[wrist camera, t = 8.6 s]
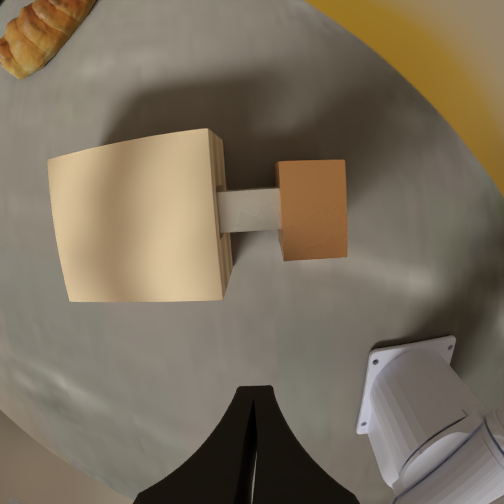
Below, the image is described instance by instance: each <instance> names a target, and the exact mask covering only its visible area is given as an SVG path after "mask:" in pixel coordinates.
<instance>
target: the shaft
mask: <svg viewBox="0 0 504 504" xmlns="http://www.w3.org/2000/svg"><path fill="white" fill-rule="evenodd" d="M274 166H275V181H276V187H261V188H246V189H233V190H220V191H216V199H217V211H218V222H219V233H228V232H244V231H260V230H277V229H278V233H279V243H280V247H281V251H282V255H283V259H284V261H292V260H308V259H324V258H340V257H347V193H346V170H345V160H302V161H278V162H277V163H276V164H274Z"/></svg>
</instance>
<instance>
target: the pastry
mask: <svg viewBox="0 0 504 504" xmlns="http://www.w3.org/2000/svg"><path fill="white" fill-rule="evenodd" d="M95 2H96V0H35V2H33V3H31V4H30V5H28V6H26V7H24V8H22V9H21V11H20V14H19V17H17V18H15V19H13V20H11V21H10V22H9V23H8V24H7V26H6V33H5V35H4V36H3V37H2V38H1V39H0V62H1V63H2V66H3V67H4V68H5V69H6V70H7V71H8V72H10V73H11V74H12V75H14V76H15V77H17V78H18V79H24V78H26V77H28V76H30V75H31V74H33V73H35V72H37V71H39V70H40V69H42V68H43V67H44V65H45V64H46V63H47V62H48V61H49V60H50V59H51V58H53V57H54V56H55V55H56V54H57V53H58V51H59V50H60V49H61V48H62V47H63V45H64V44H65V42H66V41H67V40H68V39H69V38H70V37H71V35H72V34H73V33H74V31H75V30H76V29H77V28H78V26H79V25H80V24H81V23H82V22H83V20H84V19H85V18H86V17H87V15H88V14H89V12H90V10H91V8H92V6H93V5H94V3H95Z"/></svg>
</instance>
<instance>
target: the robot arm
mask: <svg viewBox="0 0 504 504" xmlns="http://www.w3.org/2000/svg"><path fill="white" fill-rule="evenodd" d="M455 343H456V338H455V337H454V336H453V335H450V336H446V337H441V338H436V339H431V340H426V341H421V342H415V343H410V344H404V345H398V346H392V347H385V348H378V349H374V350H372V351H371V352H370V354H369V360H368V367H367V374H366V380H365V386H364V392H363V397H362V403H361V408H360V413H359V418H358V423H357V428H356V431H357V433H358V434H365V433H368V436H369V439H370V442H371V445H372V448H373V451H374V454H375V457H376V460H377V463H378V466H379V469H380V472H381V475H382V477H383V479H384V481H385V482H386V483H387V484H388V485H389V486H390V487H391V488H393V491H394V494H395V497H394V498H393V499H392V500H391V501H390V502H389V503H388V504H504V408H502V409H493V410H491V411H490V413H489V414H488V413H487V411H486V410H485V409H484V408H483V406H482V405H481V404H480V402H479V401H478V400H477V399H476V397H475V396H474V395H473V394H472V392H471V391H470V390H469V388H468V387H467V386H466V385H465V384H464V382H463V381H462V380H461V379H460V377H459V376H458V375H457V374H456V373H455V371H454V370H453V369H452V368H451V366H450V361H451V358H452V354H453V350H454V347H455ZM449 346H450V347H449ZM448 347H449V348H448ZM376 359H377V361H375V362H373V361H374V360H376ZM363 422H364V423H363ZM256 452H257V457H256ZM255 460H256V471H255V483H254V493H253V502H252V504H360V503H359V501H358V500H357V498H356V496H355V495H354V494H353V493H351V492H350V491H348V490H347V489H346V488H344V487H343V486H342V485H340V484H339V483H338V482H336V481H335V480H334V479H333V478H332V477H330V476H329V475H328V474H327V473H326V472H325V471H324V470H323V469H322V468H321V467H320V466H319V465H318V464H317V463H316V462H315V461H314V460H313V459H312V458H311V457H310V455H309V454H308V453H307V452H306V451H305V449H304V448H303V447H302V446H301V444H300V443H299V441H298V440H297V439H296V437H295V436H294V434H293V432H292V431H291V429H290V428H289V426H288V424H287V422H286V421H285V419H284V417H283V415H282V413H281V411H280V408H279V406H278V403H277V401H276V398H275V395H274V390H273V387H272V386H271V385H266V386H240V387H238V388H237V390H236V393H235V395H234V398H233V400H232V402H231V404H230V405H229V407H228V409H227V411H226V412H225V414H224V416H223V417H222V419H221V421H220V422H219V424H218V425H217V426H216V428H215V429H214V431H213V432H212V433H211V435H210V436H209V437H208V438H207V440H206V441H205V442H204V443H203V444H202V446H201V447H200V448H199V449H198V450H197V451H196V452H195V453H194V454H193V455H192V456H191V457H190V458H189V459H188V460H187V461H186V462H184V463H183V464H182V465H181V466H180V467H179V468H177V469H176V470H175V471H173V472H172V473H171V474H169V475H168V476H167V477H165V478H164V479H162V480H161V481H159V482H158V483H156V484H154V485H153V486H151V487H149V488H148V489H146V490H144V491H142V492H140V493H139V494H138V495H137V497H136V499H135V501H134V503H133V504H251V497H252V482H253V475H254V468H255ZM7 504H24V503H22V502H20V501H19V500H16V499H15V498H13V497H11V498H10V500H9V501H8V503H7Z"/></svg>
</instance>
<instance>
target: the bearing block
mask: <svg viewBox="0 0 504 504" xmlns="http://www.w3.org/2000/svg"><path fill="white" fill-rule="evenodd" d="M48 175H49V187H50V197H51V205H52V213H53V221H54V227H55V234H56V240H57V245H58V251H59V256H60V261H61V266H62V271H63V275H64V280H65V284H66V288H67V292H68V296H69V300H70V302H169V301H206V300H223V298H224V295H225V292H226V288H227V285H228V282H229V278H230V275H231V272H232V269H233V262H232V251H231V239H230V232H228V233H219V222H218V211H217V199H216V191H220V190H226V177H225V164H224V150H223V140H222V139H221V138H219V137H218V136H217V135H216V134H214V133H213V132H212V131H211V130H210V129H208V128H204V129H196V130H188V131H181V132H174V133H168V134H161V135H155V136H149V137H144V138H138V139H133V140H128V141H123V142H118V143H113V144H108V145H104V146H99V147H95V148H91V149H87V150H83V151H79V152H75V153H71V154H67V155H63V156H60V157H56V158H53V159H49V160H48Z"/></svg>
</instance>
